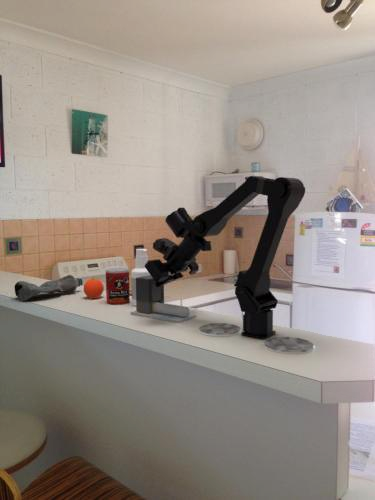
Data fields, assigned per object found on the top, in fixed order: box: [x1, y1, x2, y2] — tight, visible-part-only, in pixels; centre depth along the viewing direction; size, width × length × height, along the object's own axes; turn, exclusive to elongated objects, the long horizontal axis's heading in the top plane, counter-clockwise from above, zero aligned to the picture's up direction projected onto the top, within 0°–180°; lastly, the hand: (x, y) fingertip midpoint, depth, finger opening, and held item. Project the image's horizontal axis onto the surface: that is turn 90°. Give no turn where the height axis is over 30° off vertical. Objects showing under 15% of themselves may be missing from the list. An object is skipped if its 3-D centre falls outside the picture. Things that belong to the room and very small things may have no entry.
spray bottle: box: [130, 248, 150, 307], centre depth 149 cm, size 7×7×18 cm
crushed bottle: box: [14, 274, 84, 302], centre depth 165 cm, size 13×7×25 cm
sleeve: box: [135, 275, 165, 313], centre depth 137 cm, size 5×7×10 cm
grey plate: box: [130, 302, 197, 324], centre depth 134 cm, size 18×8×4 cm, turn 54°
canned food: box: [105, 267, 131, 306], centre depth 153 cm, size 8×8×11 cm
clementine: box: [83, 277, 106, 299], centre depth 161 cm, size 8×7×7 cm
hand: (157, 285), depth 135 cm, fingers closed
